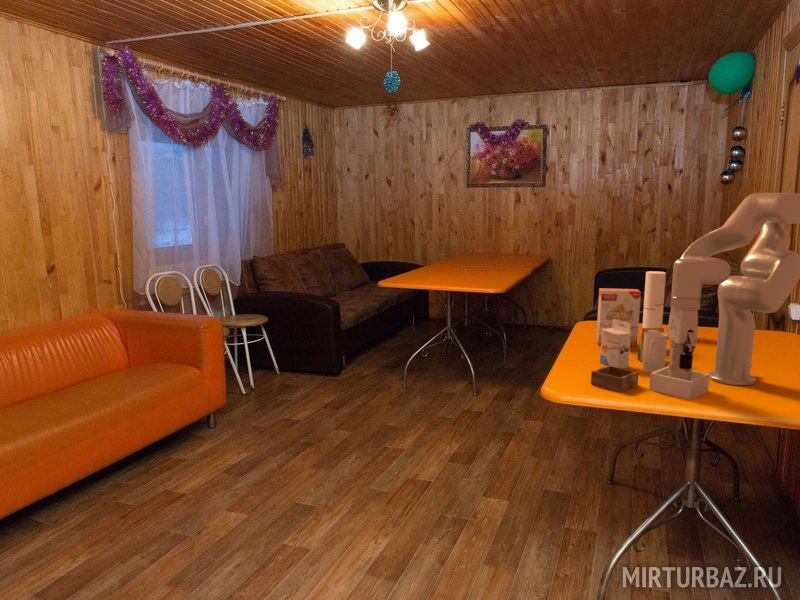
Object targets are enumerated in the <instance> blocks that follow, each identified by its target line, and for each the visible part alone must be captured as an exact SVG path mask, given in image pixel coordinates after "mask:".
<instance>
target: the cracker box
mask: <svg viewBox="0 0 800 600" xmlns="http://www.w3.org/2000/svg"><path fill="white" fill-rule="evenodd" d="M598 291H599V292H598V309H597V320H596V334H595V335H596V338H595V342H596V344H597V346H601V333H602V329H607V328H612V320H613V319H616V320H620V321H624V322H627V323H630V324H631V330H630V333H631V336H630V347H637V348H638V340H639V324H640V312H641V299H642V298H641V295H642V292H641V291H640V290H639V289H637V288H635V289H634V288H605V287H603V288H602V287H601V288H598ZM618 325H619V326H622V327H625V326H624V325H622V324H618Z"/></svg>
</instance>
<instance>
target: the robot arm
mask: <svg viewBox="0 0 800 600" xmlns="http://www.w3.org/2000/svg"><path fill="white" fill-rule="evenodd" d="M785 224H796V225H797V224H800V193H792V192H755V193H751V194H749V195H748V196H746V197H745V198H744V199H743V200H742V201H741V203H740V204H739V205H738V206H737V208H736V209H735V210H734V211H733V213H732V214H731V215H730V216H729V217H728V219H727V220H726V221H725V222H724V224H723V225H721V227H719V228H716V229H714V230H712V231H710V232H709V233H706V234H704V235H703V236H701V237H699V238H698V239H696V240H694V241H693V242H692V243H691V244H689V246H688V247H687V248H686V250H685V251H684V252H683V253H682V254H681V257H680V258H678V259H676V260H675V261H674V263H673V267H672V270H673V271H672V283H671V295H670V296H671V297H670V312H669V318H668V324H667V325H668V327H667V333H666V334H667V339H669V340H670V341H671V335H673V336H674V342H675V343H676V344H678V345H681V352H682V354H680V362H679V368H680V369H691V368H692V369H693V362H692V357H693V358H694V351H695V349H696V347H697V340H698V332H699V327H698V325H699V315H698V314H699V312H698V311H699V310H701V302H702V301H701V299H702V298H701V297H702V287H703V286H702V285H713V286H716V285H718V287H717V301H718V307H719V309H718V312H719V315H718V316H719V317H718V318H719V319H718V330H717V341H716V349H715V350H716V353H715V361H714V363H715V364H714V370H710V371H709V372H708V374H709V380H712V381H714V382H718V383H722V384H725V385H731V386H750V385H754V384H755V383H756V381H757V378H756V377H755V376H754V375H752V374H751V370H752V367H753V364H752V361H753V360H752V359H753V351H754V350H753V349H754V340H755V332H756V331H755V330H756V321H755V318H754V315H753V313H752V311H753V312H757V313H764V314H771V313H772V314H773V313H775V312H777V311H778V310H779V309H780V308H782V306H783V305H784V302H785V301H786V300H787V299H788V297H789V296H790V294H791V292H793V289H795V286H796V285H797V284H798V282H799V280H800V254H799V253H797V252H796V251H793V250H788V249H789V247H790V244H791V237H790V235H789V232H788V231H787V229H786V226H785ZM759 231H760V232H759ZM758 232H759V235H758V236H757V237H756V238H757V239H756V240H755V241H754V243H753V244H752V246H751V248H750V249H749V251H748V252H747V253H746V254H745V256H744V257H743V259H742V260H741V264H740V272H741V274H742V275H731V265H730V264H729V263H728V262H727V261H726V260H724V259H723V258H719V257H712V256H715V255H717V254H719V253H724V252H728V251H731V250H736V249H739V248H743V247H745V246H747V245H748V244H749V243H750V242H751V241H752V239H754V237H755V236H756V235H757V233H758ZM685 341H688V342H689V344H684V342H685ZM685 346H688V347H686V349H685Z"/></svg>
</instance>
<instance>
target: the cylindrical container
mask: <svg viewBox="0 0 800 600" xmlns="http://www.w3.org/2000/svg"><path fill="white" fill-rule="evenodd" d="M666 274H667V272H664V271H655V270H654V271H652V270H650V271H646V272H645V281H644V282H645V284H644V296H643V297H644V298H643V299H644V300H643V312H642V313H643V314H642V315H643V316H642V328H663V318H664V303H665V291H666V288H665V287H666V277H667V275H666ZM642 328H641V329H642ZM648 331H649V332H657V331H658V330H654V329H652V330H648Z"/></svg>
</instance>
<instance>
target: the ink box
mask: <svg viewBox="0 0 800 600" xmlns="http://www.w3.org/2000/svg"><path fill="white" fill-rule="evenodd" d="M618 324H622V325H624V326H625V327H622V326H619V325H618ZM630 330H631V324H630V323H627V322H624V321H620V320H616V319H613V320H612V328H607V329H602V333H601V345H600V351H599V353H600V354H599V355H600V356H599V363H600V364H602V363H603V365H605V366H608V365H609V366H614V367H618V368H622V369H626V368H629V367H630V366H629V365H630V364H629V363H630V349H631V346H630V336H631V333H630Z"/></svg>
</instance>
